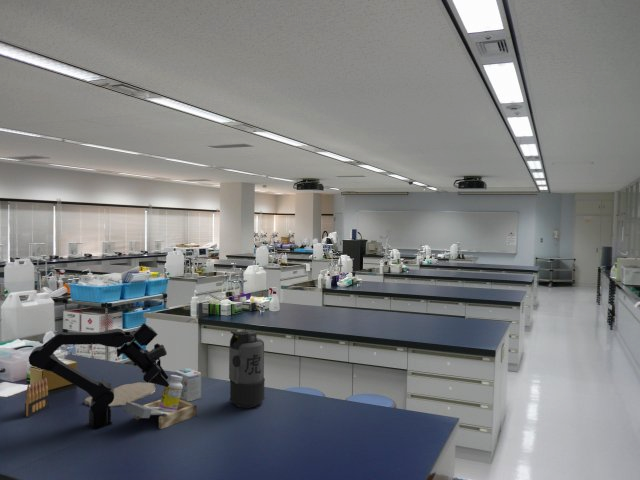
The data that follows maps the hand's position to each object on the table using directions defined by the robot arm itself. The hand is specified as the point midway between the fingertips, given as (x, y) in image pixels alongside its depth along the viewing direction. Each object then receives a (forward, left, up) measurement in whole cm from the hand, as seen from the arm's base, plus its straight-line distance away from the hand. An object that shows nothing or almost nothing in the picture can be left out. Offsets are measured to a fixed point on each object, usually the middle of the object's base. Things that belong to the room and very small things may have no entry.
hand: (167, 382), depth 182 cm
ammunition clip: (-28, +43, -13) cm, 53 cm away
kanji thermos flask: (+28, -14, -13) cm, 34 cm away
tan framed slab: (-1, 0, -13) cm, 13 cm away
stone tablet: (+2, +32, -14) cm, 35 cm away
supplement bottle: (0, 0, -11) cm, 11 cm away
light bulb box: (+18, +11, -13) cm, 25 cm away
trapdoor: (-5, 0, -11) cm, 12 cm away
